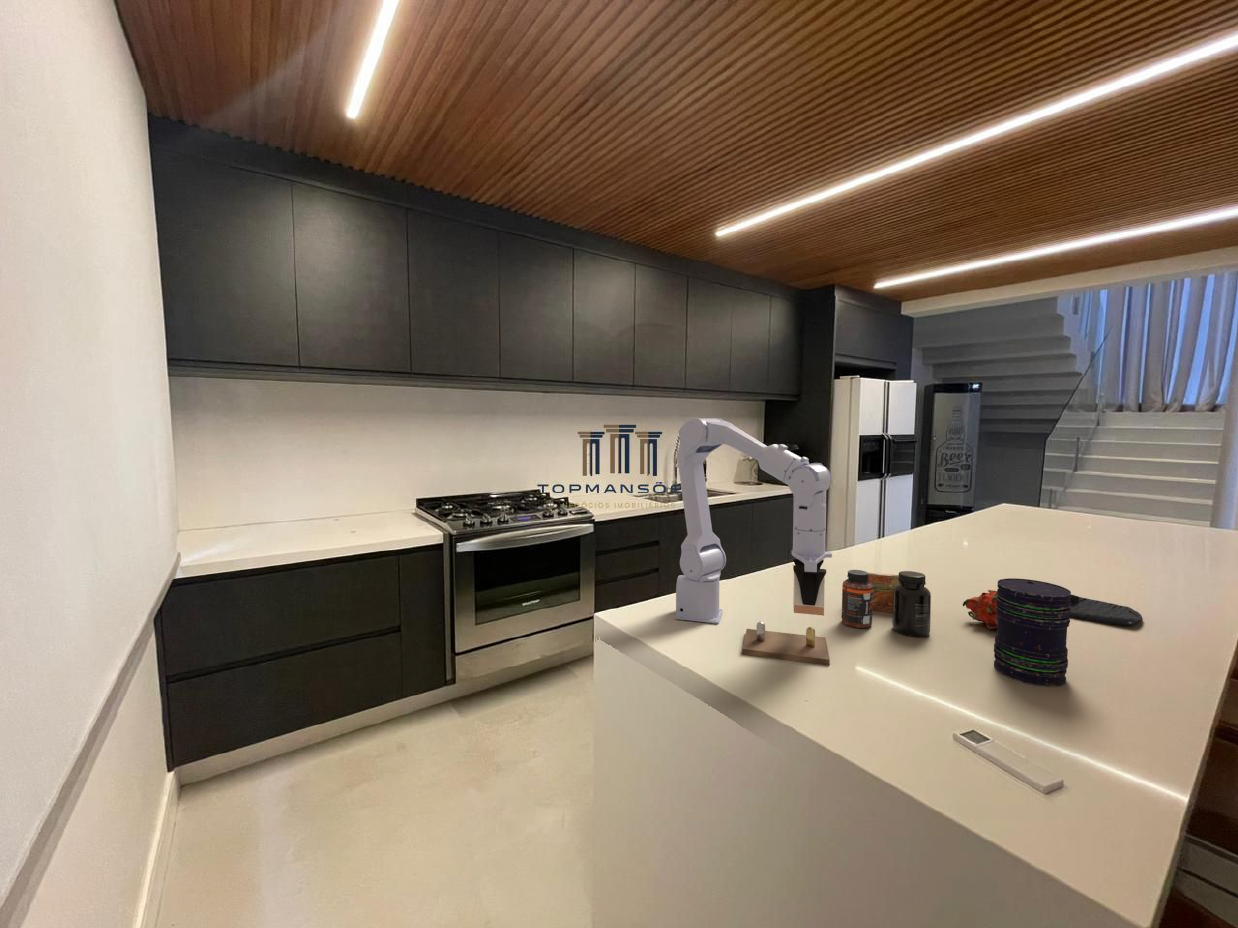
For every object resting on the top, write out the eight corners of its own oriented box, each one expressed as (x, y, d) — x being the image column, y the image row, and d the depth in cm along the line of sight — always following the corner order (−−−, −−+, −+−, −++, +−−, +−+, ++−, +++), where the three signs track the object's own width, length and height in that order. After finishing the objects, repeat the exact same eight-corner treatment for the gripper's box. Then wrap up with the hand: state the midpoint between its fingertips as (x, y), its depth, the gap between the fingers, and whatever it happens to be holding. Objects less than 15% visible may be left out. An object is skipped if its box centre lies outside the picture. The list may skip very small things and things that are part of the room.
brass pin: (805, 647, 96) (806, 628, 95) (805, 643, 97) (806, 625, 97) (815, 648, 95) (815, 629, 95) (814, 644, 97) (815, 626, 96)
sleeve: (793, 612, 95) (794, 575, 95) (793, 603, 100) (793, 568, 100) (823, 615, 94) (824, 577, 93) (821, 606, 99) (822, 570, 98)
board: (742, 654, 95) (742, 648, 95) (746, 633, 105) (746, 628, 105) (829, 664, 91) (829, 659, 90) (825, 642, 100) (825, 637, 100)
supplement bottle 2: (927, 627, 107) (929, 571, 106) (932, 640, 101) (934, 580, 100) (890, 622, 110) (892, 567, 109) (892, 634, 104) (894, 576, 103)
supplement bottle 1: (875, 630, 106) (877, 576, 105) (844, 628, 107) (846, 575, 106) (867, 619, 112) (869, 568, 111) (838, 617, 113) (839, 567, 112)
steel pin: (756, 641, 98) (756, 622, 98) (756, 637, 100) (756, 619, 100) (764, 642, 98) (765, 623, 98) (765, 638, 99) (765, 620, 99)
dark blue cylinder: (1073, 693, 80) (1078, 600, 79) (995, 677, 86) (999, 590, 85) (1060, 667, 89) (1065, 583, 88) (990, 654, 94) (994, 575, 93)
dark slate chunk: (1135, 635, 103) (1137, 612, 103) (1003, 606, 120) (1004, 586, 120) (1145, 617, 113) (1147, 596, 112) (1022, 593, 130) (1023, 574, 129)
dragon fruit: (1033, 647, 101) (965, 636, 111) (1043, 614, 105) (976, 606, 115) (1019, 617, 98) (951, 608, 108) (1029, 585, 102) (962, 579, 112)
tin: (848, 608, 119) (849, 572, 118) (847, 603, 122) (848, 569, 121) (922, 616, 113) (923, 579, 113) (920, 611, 116) (921, 575, 116)
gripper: (836, 537, 88) (834, 615, 89) (829, 522, 101) (827, 589, 102) (792, 535, 90) (791, 610, 91) (791, 520, 104) (790, 586, 105)
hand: (808, 599), depth 97 cm, fingers closed on sleeve, 5 cm apart
